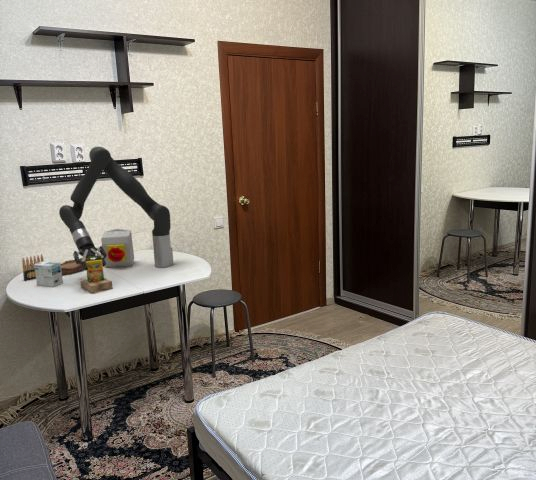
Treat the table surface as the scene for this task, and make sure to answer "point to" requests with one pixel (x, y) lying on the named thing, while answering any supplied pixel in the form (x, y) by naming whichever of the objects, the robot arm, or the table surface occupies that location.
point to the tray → (96, 285)
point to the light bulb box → (48, 273)
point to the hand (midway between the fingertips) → (95, 267)
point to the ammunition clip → (29, 271)
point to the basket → (71, 267)
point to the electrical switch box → (118, 247)
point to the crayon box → (94, 269)
